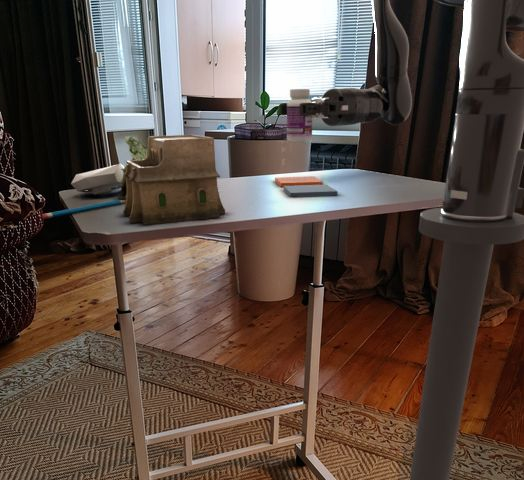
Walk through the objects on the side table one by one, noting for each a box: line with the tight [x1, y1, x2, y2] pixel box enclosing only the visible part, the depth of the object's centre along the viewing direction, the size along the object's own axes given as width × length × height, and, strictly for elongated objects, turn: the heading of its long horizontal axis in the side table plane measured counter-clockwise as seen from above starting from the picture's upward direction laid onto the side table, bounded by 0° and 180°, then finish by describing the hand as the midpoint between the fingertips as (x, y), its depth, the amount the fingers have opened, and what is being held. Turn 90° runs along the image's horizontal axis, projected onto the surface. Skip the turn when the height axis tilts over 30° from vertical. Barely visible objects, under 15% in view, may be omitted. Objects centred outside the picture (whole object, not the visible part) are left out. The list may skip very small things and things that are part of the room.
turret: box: [70, 163, 126, 196], centre depth 103 cm, size 10×20×5 cm, turn 169°
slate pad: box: [283, 184, 338, 198], centre depth 98 cm, size 9×9×1 cm
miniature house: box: [122, 134, 226, 226], centre depth 79 cm, size 15×14×11 cm
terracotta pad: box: [274, 176, 324, 188], centre depth 110 cm, size 9×9×1 cm
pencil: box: [41, 199, 126, 220], centre depth 86 cm, size 1×17×1 cm, turn 144°
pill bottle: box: [286, 88, 313, 142], centre depth 104 cm, size 5×5×10 cm
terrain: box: [124, 135, 148, 160], centre depth 91 cm, size 15×9×2 cm
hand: (290, 109), depth 102 cm, fingers closed on pill bottle, 5 cm apart
